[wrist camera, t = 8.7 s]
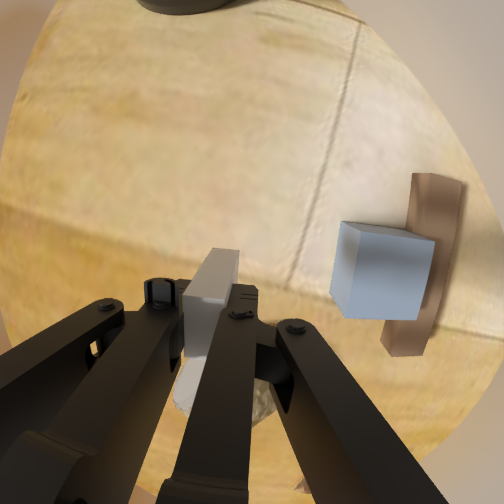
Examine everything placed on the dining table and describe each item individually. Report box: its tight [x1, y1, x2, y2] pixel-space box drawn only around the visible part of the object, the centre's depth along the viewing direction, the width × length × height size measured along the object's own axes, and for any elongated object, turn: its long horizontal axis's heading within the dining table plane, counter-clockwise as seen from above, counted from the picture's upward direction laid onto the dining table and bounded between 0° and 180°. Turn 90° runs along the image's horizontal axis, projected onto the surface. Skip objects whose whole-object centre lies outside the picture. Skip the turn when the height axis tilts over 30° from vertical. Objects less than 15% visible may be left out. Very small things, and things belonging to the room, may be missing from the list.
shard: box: [292, 477, 311, 494], centre depth 35 cm, size 11×8×2 cm
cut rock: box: [173, 358, 277, 427], centre depth 26 cm, size 10×10×10 cm
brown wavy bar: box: [380, 173, 462, 357], centre depth 25 cm, size 18×4×4 cm, turn 175°
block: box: [329, 221, 435, 320], centre depth 24 cm, size 7×7×6 cm
